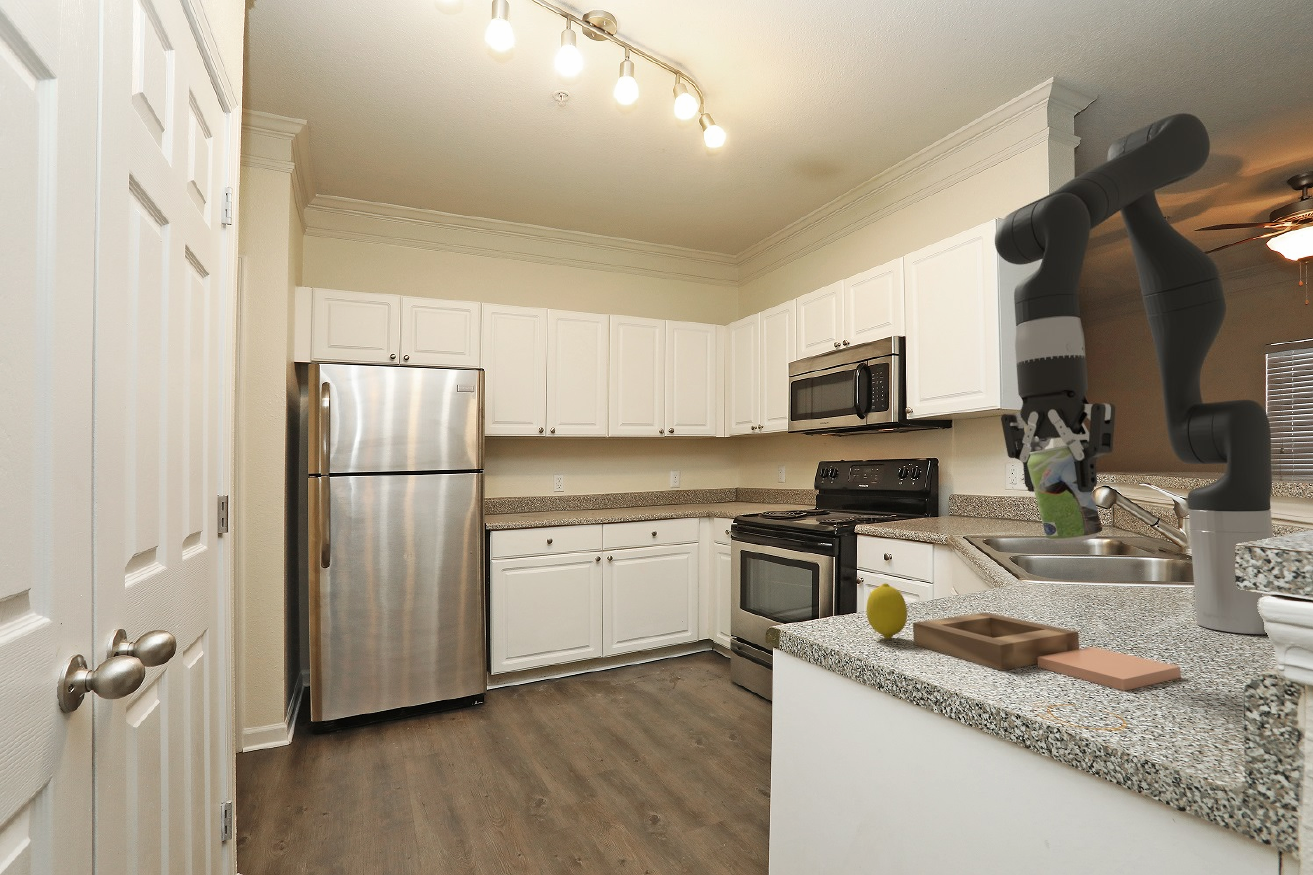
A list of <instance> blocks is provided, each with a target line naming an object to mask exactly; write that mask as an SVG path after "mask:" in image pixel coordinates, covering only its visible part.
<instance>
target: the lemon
mask: <svg viewBox="0 0 1313 875" xmlns="http://www.w3.org/2000/svg"><path fill="white" fill-rule="evenodd" d="M868 595H869V596H868V598H867V602H866V618H867V621H868V623H869V625H870V626H871V628H872V629H873V630H874V631H875V632H877V633H878V634H879V635H880V634H881V635H882V637H883V638H884V639H886V640H890V639H891V638H892V637H893V636H895V635H897V634H900V633H901V631H902V630H904V628H905V626H906V624H907V620H908V608H907V604H906V601H905V600H906V599H905V598H904V596H903V594H901V592H900V591H899V590H898V589H896V588H895V587H893V586H891V585H889V583H887V582H885V583H882V584H881V585H880V586H878V587H876V588H874V589H873V590H872V591H871V592H870V593H869V594H868Z"/></svg>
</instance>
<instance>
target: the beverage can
mask: <svg viewBox="0 0 1313 875" xmlns="http://www.w3.org/2000/svg"><path fill="white" fill-rule="evenodd" d="M1074 461H1078V460H1077V459H1075V457H1074V455H1073V453H1072V451H1071V449H1070V448H1069V446H1068V445H1066V444H1065V445H1063V446H1055V447H1050V448H1047V449H1046V448H1045V449H1044V450H1039V451H1034V452H1030V458H1029V460H1028V463H1027V465H1028V469H1029V473H1030V477H1031V481H1032V484H1033V488H1034V492H1033V493H1034V496H1035V500H1036V503H1037V507H1038V511H1039V514H1040V519H1041V522H1042V526H1043V531H1044V534H1045V538H1047V539H1051V540H1053V542H1054V543H1056V544H1057V543H1059V544H1060V543H1065V544H1066V543H1076V542H1084V541H1088V540H1092V539H1095V538H1097V537H1098V534H1099V533H1101V532H1102V531H1103V526H1102V522H1101V518H1100V515H1099V511H1098V508H1097V504H1096V500H1095V496H1094V491H1093V492H1080V491H1079V490H1078V485H1077V478H1076V471H1075V464H1074Z"/></svg>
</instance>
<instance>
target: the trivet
mask: <svg viewBox="0 0 1313 875" xmlns="http://www.w3.org/2000/svg"><path fill="white" fill-rule="evenodd" d="M1037 667H1038V668H1040V669H1044V670H1047V671H1051V672H1055V673H1059V674H1062V675H1065V676H1070V677H1073V678H1077V679H1081V680H1085V681H1088V682H1091V683H1095V684H1097V685H1098V684H1099V685H1102V686H1106V687H1110V688H1113V689H1116V690H1119V691H1120V690H1121V691H1123V692H1125V691H1130V690H1132V689H1133V690H1134V689H1138V688H1142V687H1146V686H1150V685H1154V684H1159V683H1163V682H1167V681H1171V680H1177V679H1181V678H1182V676H1181V674H1182V672H1181V666H1179V665H1173V664H1169V663H1164V662H1162V661H1161V662H1160V661H1155V660H1151V659H1147V658H1143V657H1139V656H1134V655H1130V654H1126V653H1121V652H1117V651H1111V650H1108V649H1104V648H1099V647H1095V646H1090V647H1083V648H1079V649H1078V650H1072V651H1067V652H1062V653H1056V654H1051V655H1046V656H1040V657H1038V664H1037Z"/></svg>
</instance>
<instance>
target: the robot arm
mask: <svg viewBox="0 0 1313 875" xmlns="http://www.w3.org/2000/svg"><path fill="white" fill-rule="evenodd" d="M1210 149H1211V143H1210V136H1209V133H1208V131H1207V129H1206V127H1205V125H1204V123H1203V122H1202V120H1200V118H1198V117H1197V116H1195V115H1193V114H1191V113H1187V112H1186V113H1183V112H1182V113H1181V112H1180V113H1175V114H1172V115H1169V116H1166V117H1163V118H1162V119H1159V120H1157V121H1154V122H1152V123H1149V124H1148V125H1146V126H1144V127H1140V128H1139V129H1137V130H1135V131H1132V132H1130V133H1129V134H1126V135H1124V136H1122V137H1120V138H1118V139H1117V140H1115V141H1113V143H1112V144H1111V145H1110V147H1109V149H1108V151H1107V156H1106V161H1105V162H1104V163H1102V164H1099V165H1096V166H1095V167H1092V168H1091V169H1089V170H1087V171H1084V172H1083V173H1081V174H1079V175H1077V176H1076V177H1074V178H1073V179H1070V180H1069V181H1068V182H1066V183H1064V184H1063V185H1062V186H1059V187H1058V188H1057V189H1055V191H1053V192H1051V193H1050V194H1048V195H1046V196H1043V197H1042V198H1040V199H1037V200H1035V201H1033V202H1030V203H1028V204H1026V205H1024V206H1022V207H1020V208H1018V209H1015V210H1014V211H1012V212H1011V213H1009V214H1007V215H1006V216H1005V217H1004V218H1002V220H1001V221H1000V223H999V224H998V226H997V228H996V232H995V234H994V235H995V236H994V246H995V250H996V252H997V254H998V255H999V256H1000V258H1001V259H1003V260H1005V261H1006V262H1008V263H1009V264H1013V265H1021V266H1022V265H1028V264H1032V263H1034V262H1039V261H1040V260H1041V262H1040V265H1039V267H1038V269H1036V270H1035V272H1033V273H1032V274H1031V275H1029V276H1027V277H1025V278H1024V279H1022V280H1021V281H1020V282H1018V284H1016V286H1015V288H1014V290H1013V291H1014V293H1013V301H1014V302H1013V304H1014V314H1015V341H1014V342H1015V343H1014V350H1015V361H1016V362H1015V363H1016V379H1017V390H1018V396H1019V397H1020V398H1021V400H1022V405H1021V408H1020V411H1018V412H1015V413H1007V414H1006V413H1004V414H1002V415H1001V417H1000V420H1001V421H1000V422H1001V427H1002V431H1003V436H1004V442H1005V449H1006V453H1007V456H1008V458H1010V459H1016V460H1019V461H1020V462H1022V465H1023V478H1024V485H1025V488H1027V491H1028V492H1030V493H1035V492H1034V488H1033V484H1032V481H1031V477H1030V473H1029V469H1028V465H1027V463H1028V460H1029V458H1030V452H1034V451H1039V450H1045V449H1046V447H1048V446H1049V445H1050V443H1051V441H1052V440H1053V439H1058V438H1060V439H1062V442H1063V443H1064V445H1065V446H1066V445H1068V446H1069V448H1070V449H1071V451H1072V453H1073V455H1074V457H1075V459H1077V460H1078V461H1074V464H1075V471H1076V478H1077V485H1078V490H1079V491H1080V492H1093V493H1094V490H1095V487H1097V485H1098V478H1097V476H1098V475H1097V463H1096V462H1097V459H1099V458H1100V457H1101V456H1104V455H1109V454H1111V453H1112V452H1113V449H1114V436H1115V435H1114V434H1115V419H1116V406H1115V404H1114V403H1111V402H1109V403H1106V402H1104V403H1100V402H1096V403H1093V404H1092V403H1090V401H1089V400H1088V398H1087V396H1086V395H1087V394H1086V393H1087V391H1088V389H1089V384H1088V381H1089V380H1088V370H1087V368H1088V367H1087V359H1086V358H1087V356H1086V346H1085V345H1086V344H1085V335H1084V334H1085V333H1084V330H1083V326H1082V321H1081V311H1080V310H1081V309H1080V300H1079V296H1080V294H1079V283H1080V278H1081V274H1082V272H1083V270H1082V269H1083V265H1084V261H1085V256H1086V251H1087V247H1088V244H1089V239H1090V234H1091V230H1093V229H1095V228H1096V227H1097V226H1099V225H1101V224H1102V223H1104V222H1105V221H1106V220H1108V219H1109V218H1111V217H1112V216H1114V215H1115V214H1117V213H1118V212H1120V215H1121V218H1122V220H1123V223H1124V226H1125V229H1126V233H1127V235H1128V239H1129V242H1130V246H1131V250H1132V254H1133V258H1134V262H1135V267H1136V271H1137V275H1138V280H1139V286H1140V292H1141V296H1142V301H1143V306H1144V310H1145V314H1146V318H1147V322H1148V326H1149V330H1150V332H1151V337H1152V340H1153V341H1152V342H1153V346H1154V350H1155V354H1156V358H1157V363H1158V369H1159V373H1160V374H1159V375H1160V382H1161V389H1162V400H1163V406H1164V407H1163V408H1164V414H1165V424H1166V430H1167V436H1168V439H1169V443H1170V446H1171V448H1172V451H1173V453H1174V454H1175V456H1176V457H1177V459H1178V460H1180V462H1183V463H1185V464H1190V465H1207V464H1208V465H1215V464H1219V465H1220V464H1226V470H1225V474H1224V475H1222V476H1221V478H1219V479H1217V480H1215V481H1214V482H1212V483H1209V484H1207V485H1204V486H1200V487H1197V488H1196V487H1195V488H1194V489H1191V490H1190V491H1189V492H1188V494H1187V508H1188V519H1189V520H1188V522H1189V532H1190V545H1191V547H1190V548H1191V559H1192V560H1191V562H1192V570H1193V571H1192V574H1193V575H1192V576H1193V586H1194V599H1195V600H1194V601H1195V614H1196V616H1195V617H1196V623H1197V625H1199V626H1201V627H1204V628H1207V629H1211V630H1217V631H1221V632H1228V633H1237V634H1247V635H1248V634H1249V635H1267V634H1266V632H1265V630H1264V622H1263V619H1262V618H1261V616H1260V614H1259V612H1258V609H1257V602H1258V599H1259V598H1260V597H1262V594H1260V593H1256V592H1250V591H1246V590H1240V589H1238V588H1237V587H1236V583H1235V545H1236V544H1237V543H1241V542H1248V541H1257V540H1262V539H1266V538H1270V537H1273V538H1274V533H1273V522H1272V520H1273V519H1272V510H1271V506H1272V505H1271V497H1272V491H1273V490H1272V487H1273V479H1272V478H1273V476H1272V434H1271V433H1272V431H1271V425H1270V420H1269V417H1268V414H1267V412H1266V410H1265V408H1264V407H1263V406H1262V405H1261V404H1260V403H1259V402H1257V401H1255V400H1253V399H1252V400H1251V399H1237V400H1227V401H1216V402H1215V401H1214V402H1206V403H1205V402H1204V403H1203V398H1202V394H1201V393H1202V392H1201V372H1202V369H1203V365H1204V362H1205V360H1206V357H1207V356H1208V353H1209V352H1210V349H1211V347H1212V345H1213V343H1214V342H1215V340H1216V337H1217V335H1219V331H1220V330H1221V327H1222V325H1223V323H1224V320H1225V317H1226V312H1227V303H1226V299H1225V294H1224V289H1223V285H1222V281H1221V277H1220V272H1219V269H1218V267H1217V264H1216V263H1215V262H1214V260H1213V259H1212V258H1211V257H1210V256H1209V255H1208V254H1207V253H1206V252H1204V251H1203V250H1202V249H1201V248H1199V247H1198V246H1197V245H1196V244H1195V243H1193V242H1191V240H1189V239H1188V238H1186V236H1184V235H1182V234H1181V233H1180V232H1178V231H1177V229H1175V228H1174V226H1172V225H1171V223H1169V222H1168V221H1167V219H1166V217H1165V216H1164V215H1163V214H1164V213H1163V211H1162V210H1161V207H1160V206H1159V203H1158V200H1157V198H1156V192H1155V190H1158V189H1162V188H1164V187H1167V186H1169V185H1171V184H1174V183H1178V182H1180V181H1183V180H1185V179H1187V178H1188V177H1191V176H1193V175H1195V173H1197V172H1198V171H1200V170H1201V169H1202V168H1203V167H1204V166H1205V164H1206V162H1207V160H1208V159H1209V154H1210V151H1211V150H1210ZM1086 418H1087V419H1088V420H1089V430H1088V428H1087V426H1086V424H1085V423H1084V422H1085V421H1086ZM1025 427H1026V430H1025Z"/></svg>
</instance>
